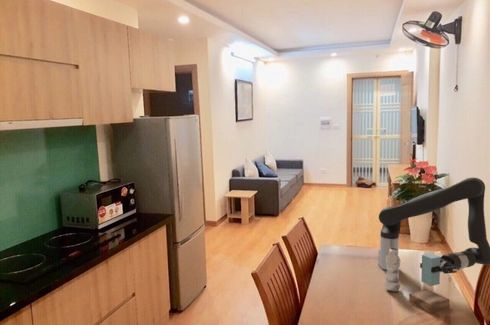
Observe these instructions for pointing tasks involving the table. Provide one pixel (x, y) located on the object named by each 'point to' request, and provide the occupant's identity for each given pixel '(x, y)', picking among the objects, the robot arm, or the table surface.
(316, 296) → the table surface
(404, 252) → the table surface
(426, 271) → the blue block
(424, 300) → the walnut block
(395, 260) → the plastic bottle
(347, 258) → the table surface
